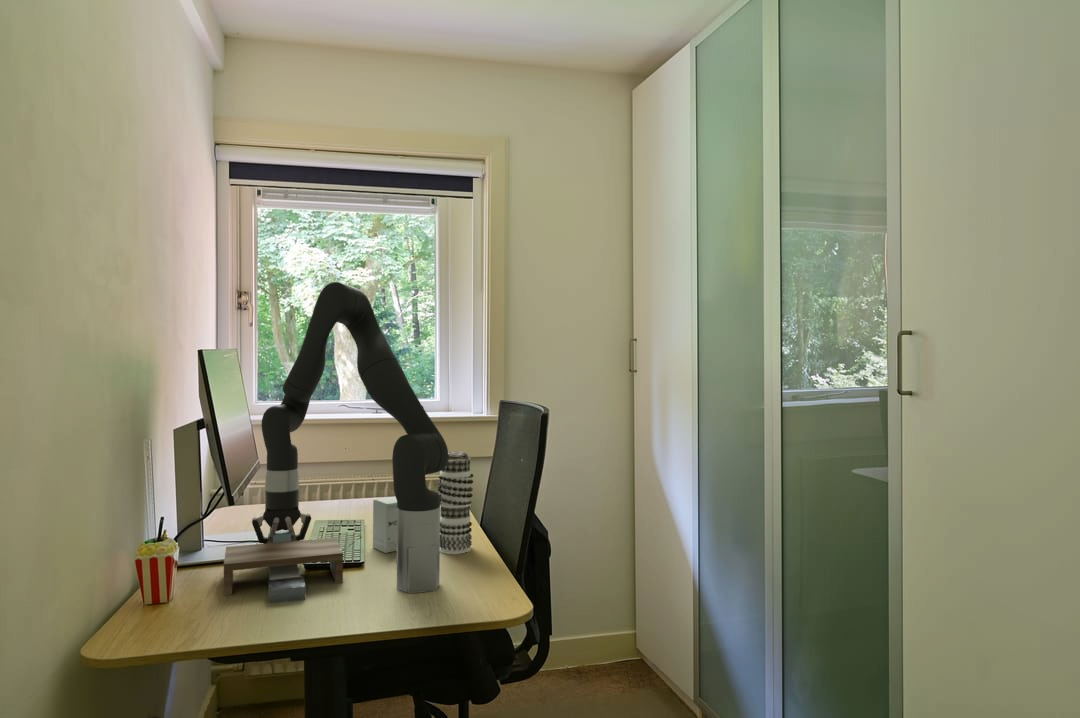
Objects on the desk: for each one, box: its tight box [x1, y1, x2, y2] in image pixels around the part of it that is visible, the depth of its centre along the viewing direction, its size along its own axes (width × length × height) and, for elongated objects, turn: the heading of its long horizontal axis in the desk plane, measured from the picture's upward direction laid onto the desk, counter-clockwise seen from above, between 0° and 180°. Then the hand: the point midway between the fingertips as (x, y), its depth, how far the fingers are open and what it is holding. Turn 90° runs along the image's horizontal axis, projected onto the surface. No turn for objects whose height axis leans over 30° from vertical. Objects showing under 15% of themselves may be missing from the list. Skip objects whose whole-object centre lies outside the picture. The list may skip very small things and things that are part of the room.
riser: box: [223, 537, 344, 596], centre depth 160 cm, size 14×24×6 cm, turn 112°
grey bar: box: [267, 530, 301, 580], centre depth 163 cm, size 24×6×7 cm, turn 22°
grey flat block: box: [267, 575, 306, 605], centre depth 149 cm, size 7×7×3 cm
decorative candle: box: [437, 451, 474, 555], centre depth 184 cm, size 9×9×25 cm
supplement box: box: [372, 496, 397, 554], centre depth 185 cm, size 7×7×13 cm
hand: (281, 558), depth 172 cm, fingers closed on grey bar, 4 cm apart
